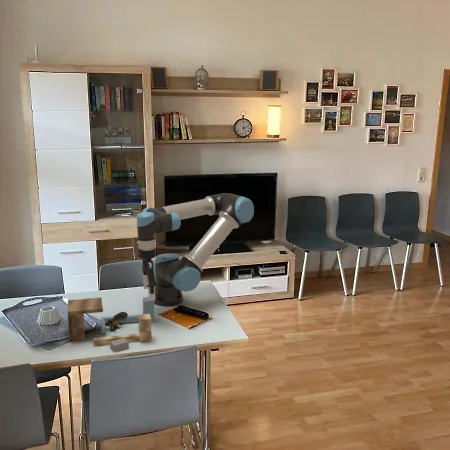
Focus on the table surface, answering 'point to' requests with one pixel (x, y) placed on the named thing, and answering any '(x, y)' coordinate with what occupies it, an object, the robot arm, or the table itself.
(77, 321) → the wooden l bracket
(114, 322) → the eagle figurine
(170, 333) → the table surface
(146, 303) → the crook
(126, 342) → the grey eraser block
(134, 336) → the plain l-shaped wooden block
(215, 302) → the table surface
